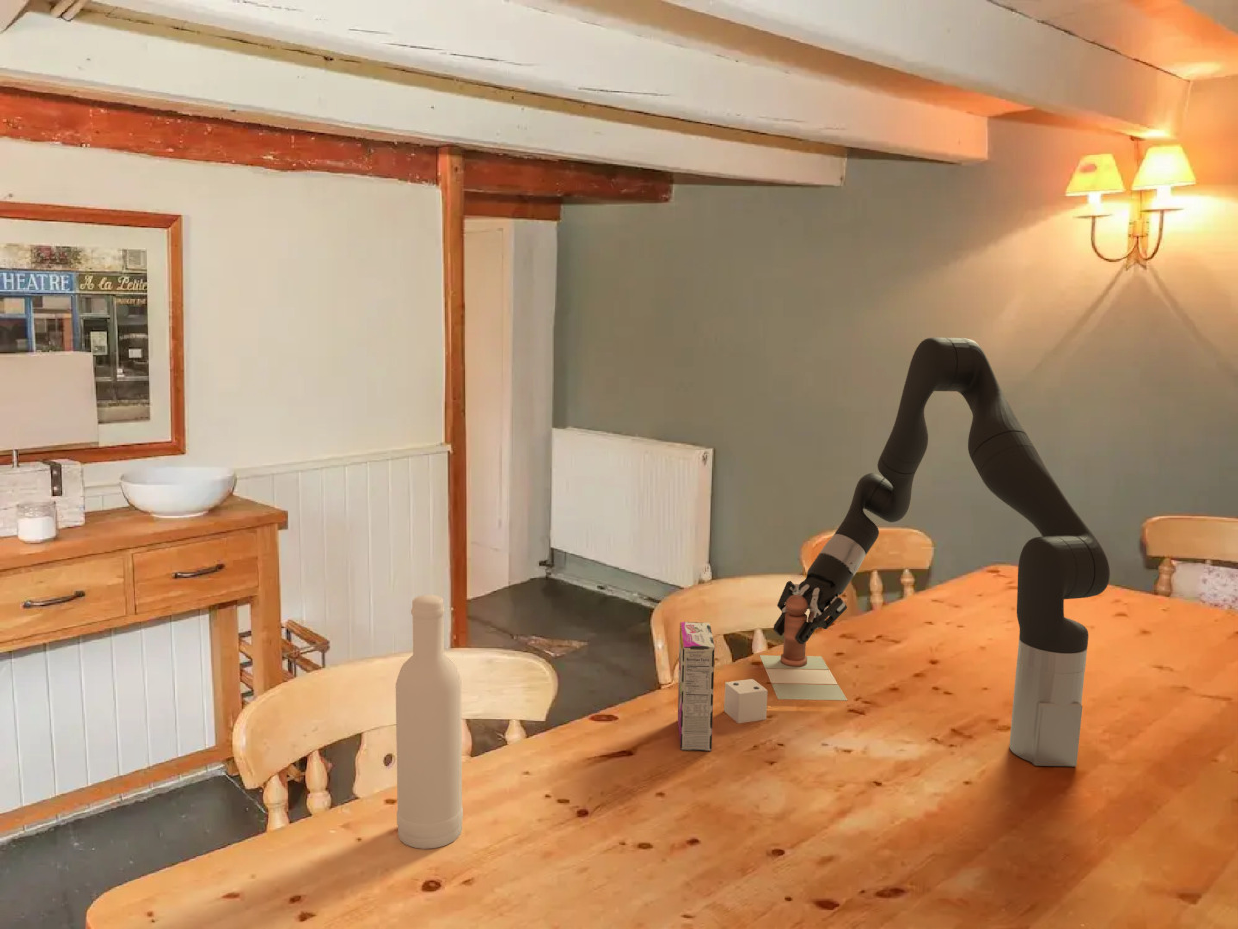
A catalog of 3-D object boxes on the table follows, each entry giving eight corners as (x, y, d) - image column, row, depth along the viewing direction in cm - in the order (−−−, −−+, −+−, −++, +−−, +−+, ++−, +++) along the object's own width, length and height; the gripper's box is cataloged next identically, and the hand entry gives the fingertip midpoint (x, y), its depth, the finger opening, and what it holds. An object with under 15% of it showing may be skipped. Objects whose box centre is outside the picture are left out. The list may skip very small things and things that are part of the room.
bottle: (434, 809, 127) (432, 585, 122) (476, 831, 122) (475, 598, 117) (383, 834, 121) (379, 599, 116) (425, 858, 116) (422, 613, 111)
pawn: (809, 667, 178) (813, 599, 176) (782, 666, 178) (786, 598, 176) (804, 657, 183) (807, 591, 181) (778, 657, 183) (781, 591, 181)
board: (852, 705, 163) (852, 702, 163) (774, 704, 163) (774, 700, 163) (824, 658, 185) (824, 655, 184) (755, 657, 184) (755, 653, 184)
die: (766, 720, 157) (767, 689, 156) (738, 724, 155) (739, 693, 154) (751, 707, 161) (752, 678, 161) (724, 711, 160) (725, 682, 159)
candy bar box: (675, 720, 156) (679, 620, 153) (707, 721, 156) (711, 621, 153) (678, 751, 145) (682, 645, 142) (712, 752, 145) (716, 646, 142)
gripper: (799, 544, 187) (750, 615, 182) (857, 561, 176) (806, 637, 171) (817, 567, 191) (769, 637, 186) (875, 585, 180) (826, 660, 175)
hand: (787, 637), depth 179 cm, fingers open, 5 cm apart
